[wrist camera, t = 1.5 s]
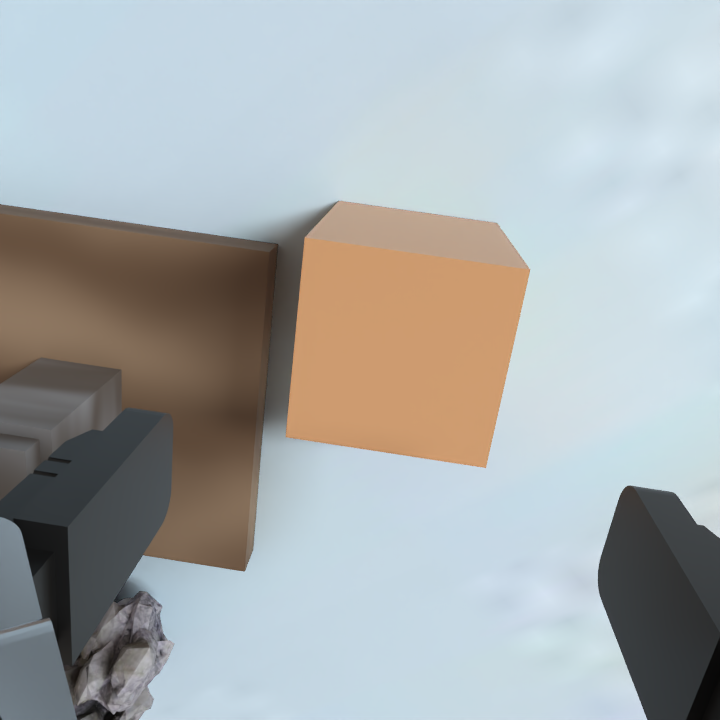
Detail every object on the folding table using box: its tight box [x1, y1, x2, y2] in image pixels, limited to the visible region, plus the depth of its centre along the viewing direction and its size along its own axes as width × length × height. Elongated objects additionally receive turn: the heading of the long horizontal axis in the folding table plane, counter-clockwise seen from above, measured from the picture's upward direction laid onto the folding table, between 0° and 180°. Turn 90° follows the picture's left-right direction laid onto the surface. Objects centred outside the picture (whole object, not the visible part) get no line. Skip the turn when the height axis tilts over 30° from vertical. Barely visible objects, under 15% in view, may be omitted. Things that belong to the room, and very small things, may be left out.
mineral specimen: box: [63, 591, 174, 720], centre depth 29 cm, size 12×9×10 cm
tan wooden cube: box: [286, 201, 530, 468], centre depth 21 cm, size 6×6×8 cm
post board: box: [0, 204, 278, 571], centre depth 24 cm, size 14×14×8 cm
